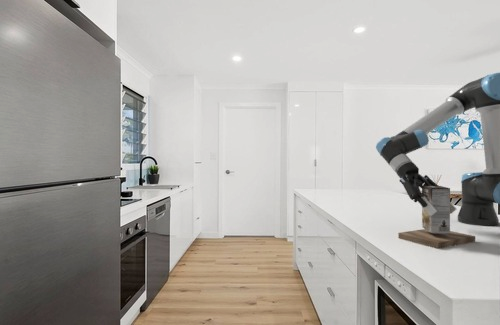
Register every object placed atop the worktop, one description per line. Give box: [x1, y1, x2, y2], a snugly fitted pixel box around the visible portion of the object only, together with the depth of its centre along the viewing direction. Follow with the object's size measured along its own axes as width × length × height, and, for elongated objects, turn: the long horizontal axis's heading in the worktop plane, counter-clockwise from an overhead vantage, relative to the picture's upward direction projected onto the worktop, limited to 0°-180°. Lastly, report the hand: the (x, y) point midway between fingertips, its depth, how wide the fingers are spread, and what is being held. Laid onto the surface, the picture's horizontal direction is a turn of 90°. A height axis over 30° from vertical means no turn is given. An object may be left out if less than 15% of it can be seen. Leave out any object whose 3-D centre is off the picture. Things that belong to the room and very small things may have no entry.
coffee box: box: [421, 185, 451, 234], centre depth 107 cm, size 9×6×16 cm
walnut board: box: [397, 228, 476, 250], centre depth 107 cm, size 20×15×2 cm
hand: (443, 212), depth 104 cm, fingers closed on coffee box, 10 cm apart
